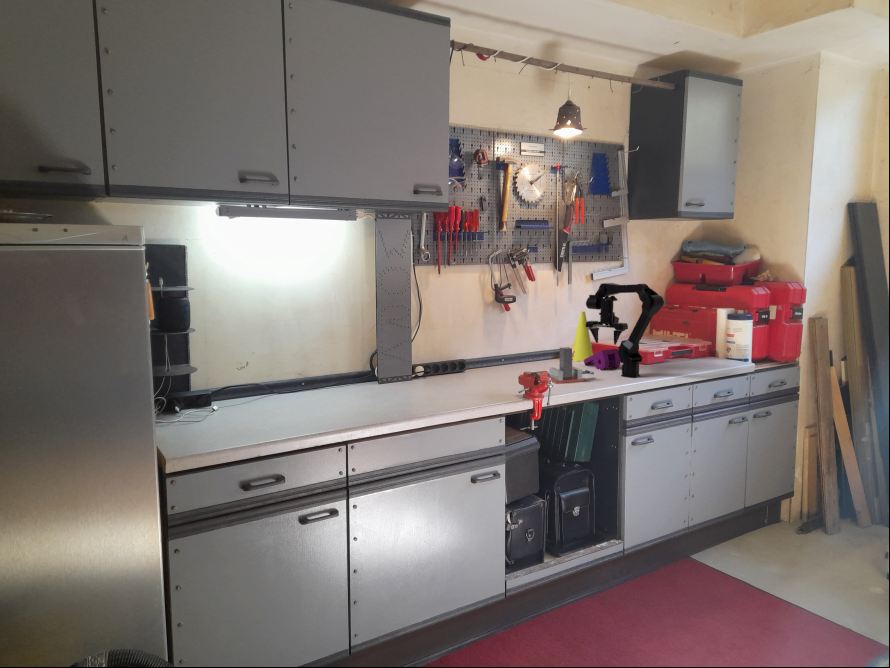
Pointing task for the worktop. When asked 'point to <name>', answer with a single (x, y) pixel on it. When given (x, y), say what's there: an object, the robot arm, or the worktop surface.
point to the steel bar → (566, 362)
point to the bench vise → (576, 377)
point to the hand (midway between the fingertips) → (606, 343)
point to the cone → (582, 340)
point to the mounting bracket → (604, 359)
